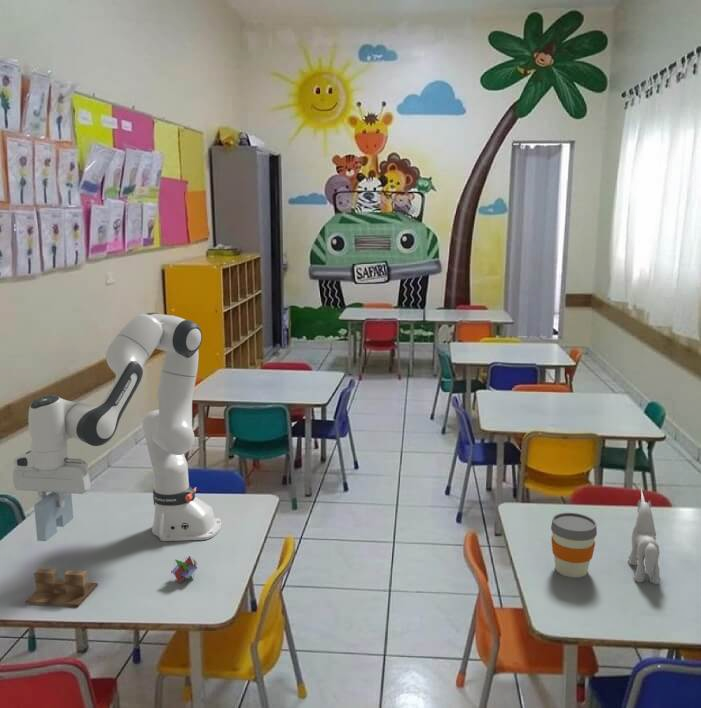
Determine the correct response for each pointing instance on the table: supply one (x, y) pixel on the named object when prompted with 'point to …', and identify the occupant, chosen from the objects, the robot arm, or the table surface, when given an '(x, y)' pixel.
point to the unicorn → (645, 544)
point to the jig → (61, 588)
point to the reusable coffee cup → (573, 543)
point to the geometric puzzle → (184, 569)
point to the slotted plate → (52, 515)
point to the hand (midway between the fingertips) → (54, 506)
